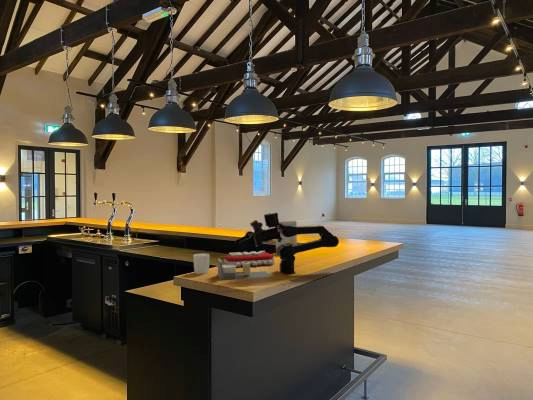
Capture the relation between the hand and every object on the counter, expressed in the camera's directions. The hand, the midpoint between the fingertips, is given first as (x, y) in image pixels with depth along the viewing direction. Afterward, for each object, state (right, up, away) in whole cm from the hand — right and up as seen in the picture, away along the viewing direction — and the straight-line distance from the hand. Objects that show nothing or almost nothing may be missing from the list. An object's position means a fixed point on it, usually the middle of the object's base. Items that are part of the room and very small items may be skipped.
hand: (237, 242), depth 193 cm
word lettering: (+5, -16, +31) cm, 35 cm away
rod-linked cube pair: (0, -15, -5) cm, 16 cm away
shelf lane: (+4, -17, -4) cm, 17 cm away
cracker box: (+27, -15, +73) cm, 80 cm away
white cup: (-18, -17, +5) cm, 25 cm away
